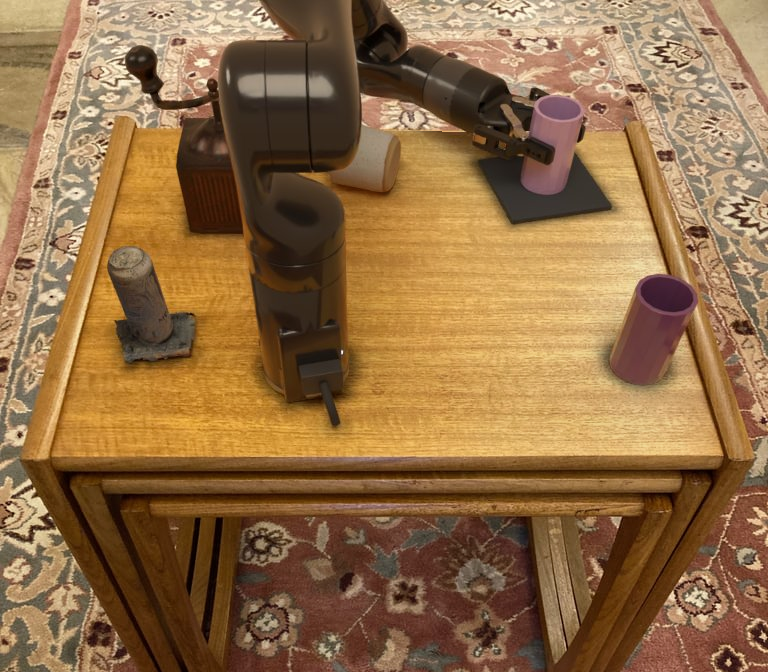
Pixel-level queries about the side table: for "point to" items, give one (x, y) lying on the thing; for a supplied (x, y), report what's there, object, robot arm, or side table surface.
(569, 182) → the placemat
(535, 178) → the lilac cup
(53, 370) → the side table surface
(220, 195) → the manual coffee grinder
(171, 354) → the grey post on base
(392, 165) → the ceramic mug
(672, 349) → the plum cup
